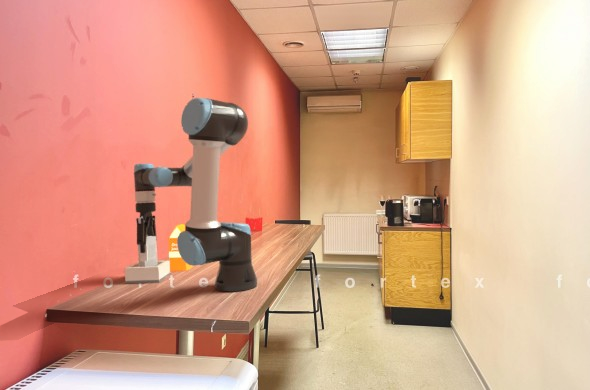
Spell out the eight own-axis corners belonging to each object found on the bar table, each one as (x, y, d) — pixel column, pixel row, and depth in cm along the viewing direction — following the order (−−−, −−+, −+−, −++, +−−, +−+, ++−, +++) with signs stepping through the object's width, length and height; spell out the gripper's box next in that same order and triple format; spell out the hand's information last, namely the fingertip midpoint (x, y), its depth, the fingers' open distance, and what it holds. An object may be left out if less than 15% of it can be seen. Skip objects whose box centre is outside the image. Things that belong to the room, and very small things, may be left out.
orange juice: (193, 266, 178) (191, 223, 177) (186, 270, 169) (184, 225, 168) (177, 266, 179) (175, 223, 178) (169, 271, 170) (167, 225, 169)
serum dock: (159, 282, 149) (158, 267, 149) (125, 283, 149) (124, 268, 149) (170, 274, 162) (169, 260, 162) (139, 275, 162) (138, 261, 162)
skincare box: (151, 264, 159) (150, 235, 159) (157, 265, 157) (156, 236, 157) (138, 267, 154) (137, 237, 154) (144, 268, 152) (143, 238, 152)
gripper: (145, 203, 145) (147, 263, 146) (163, 200, 165) (165, 254, 166) (125, 203, 145) (127, 264, 146) (145, 201, 165) (148, 254, 166)
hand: (147, 258), depth 156 cm, fingers closed on skincare box, 7 cm apart
